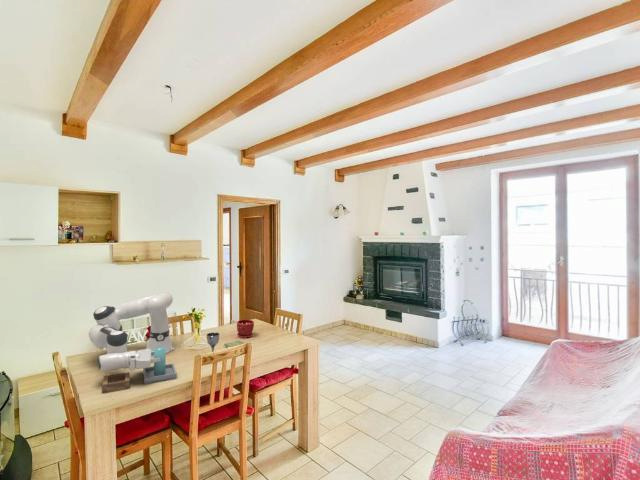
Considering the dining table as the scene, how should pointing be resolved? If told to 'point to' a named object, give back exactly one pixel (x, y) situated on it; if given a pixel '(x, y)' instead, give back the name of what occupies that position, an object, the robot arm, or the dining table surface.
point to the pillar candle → (160, 365)
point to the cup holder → (116, 382)
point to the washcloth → (233, 344)
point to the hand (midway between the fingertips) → (160, 356)
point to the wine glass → (212, 339)
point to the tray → (169, 374)
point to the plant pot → (245, 328)
